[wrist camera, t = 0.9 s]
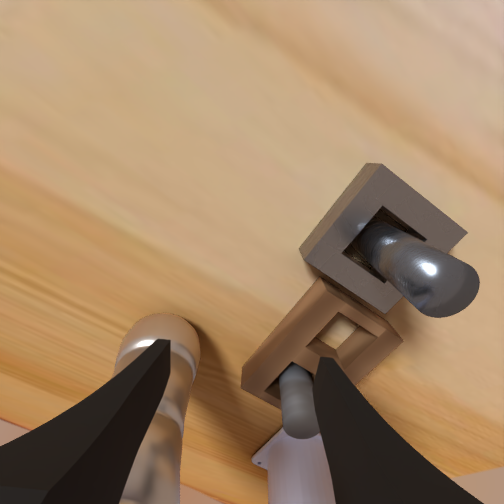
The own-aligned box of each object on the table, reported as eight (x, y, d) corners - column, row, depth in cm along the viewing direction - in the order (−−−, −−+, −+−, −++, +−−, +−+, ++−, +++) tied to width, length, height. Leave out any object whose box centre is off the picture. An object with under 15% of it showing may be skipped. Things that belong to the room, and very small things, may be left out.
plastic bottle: (181, 292, 22) (-2, 949, 4) (214, 346, 25) (193, 896, 7) (115, 319, 23) (-334, 1043, 4) (154, 370, 25) (-23, 957, 7)
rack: (389, 322, 23) (430, 374, 18) (306, 402, 27) (318, 467, 21) (319, 276, 22) (340, 317, 16) (242, 366, 25) (237, 426, 20)
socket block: (443, 223, 20) (468, 232, 18) (372, 297, 22) (385, 314, 20) (366, 163, 19) (381, 163, 16) (298, 248, 21) (303, 259, 19)
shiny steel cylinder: (396, 231, 20) (493, 283, 12) (370, 260, 21) (443, 327, 13) (368, 210, 20) (448, 248, 11) (342, 240, 21) (399, 297, 12)
